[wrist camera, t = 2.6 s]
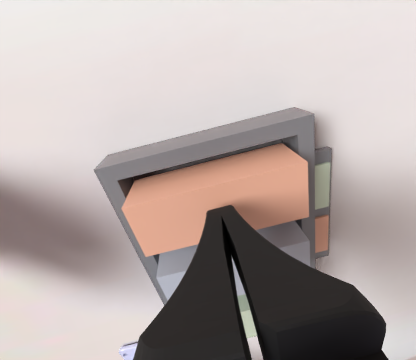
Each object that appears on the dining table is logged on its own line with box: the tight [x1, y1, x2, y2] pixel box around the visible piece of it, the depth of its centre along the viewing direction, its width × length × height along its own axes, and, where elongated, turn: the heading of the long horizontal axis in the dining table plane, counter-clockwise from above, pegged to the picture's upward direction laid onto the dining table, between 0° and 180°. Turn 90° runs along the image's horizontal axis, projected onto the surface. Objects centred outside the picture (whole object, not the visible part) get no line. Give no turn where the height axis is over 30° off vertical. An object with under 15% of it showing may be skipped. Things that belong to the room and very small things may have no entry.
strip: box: [315, 147, 332, 259], centre depth 19 cm, size 11×2×1 cm, turn 13°
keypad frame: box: [94, 107, 315, 306], centre depth 18 cm, size 18×13×3 cm
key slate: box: [156, 220, 310, 300], centre depth 16 cm, size 4×10×3 cm, turn 103°
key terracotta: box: [121, 143, 309, 257], centre depth 14 cm, size 4×10×3 cm, turn 103°
